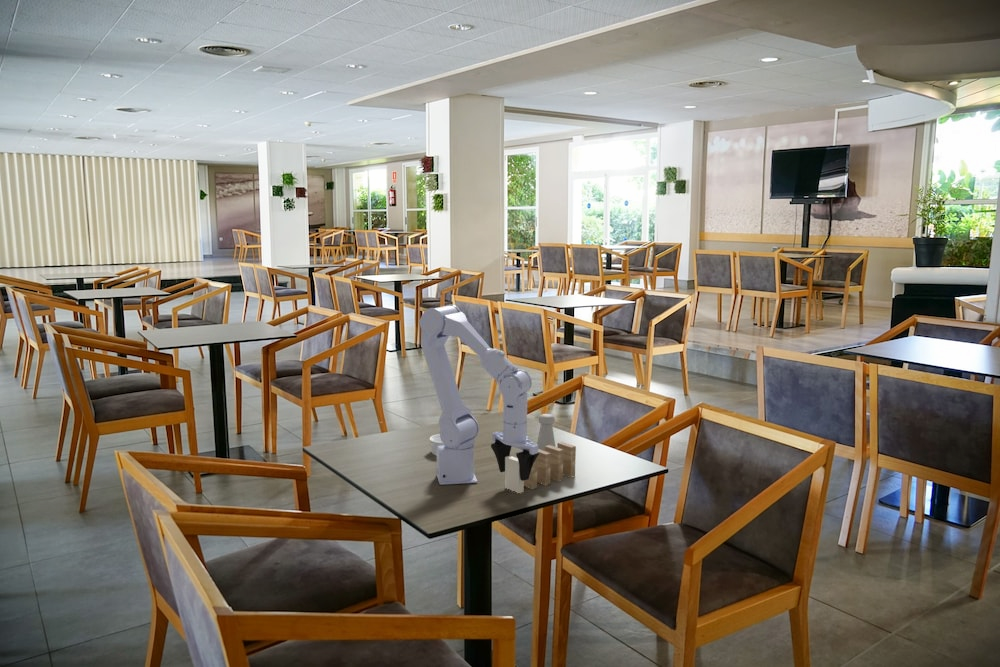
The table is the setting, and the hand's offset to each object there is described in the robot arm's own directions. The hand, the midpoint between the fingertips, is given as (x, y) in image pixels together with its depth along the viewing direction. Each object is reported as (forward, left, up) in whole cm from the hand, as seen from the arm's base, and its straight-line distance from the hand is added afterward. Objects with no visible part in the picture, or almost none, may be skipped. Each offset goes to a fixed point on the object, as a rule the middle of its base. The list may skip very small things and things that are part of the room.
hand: (514, 475), depth 187 cm
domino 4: (+16, +9, -4) cm, 18 cm away
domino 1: (+4, +2, -4) cm, 6 cm away
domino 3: (+12, +7, -4) cm, 14 cm away
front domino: (0, 0, -4) cm, 4 cm away
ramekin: (-13, +32, -4) cm, 35 cm away
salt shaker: (+13, +20, -4) cm, 24 cm away
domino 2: (+8, +4, -4) cm, 10 cm away
